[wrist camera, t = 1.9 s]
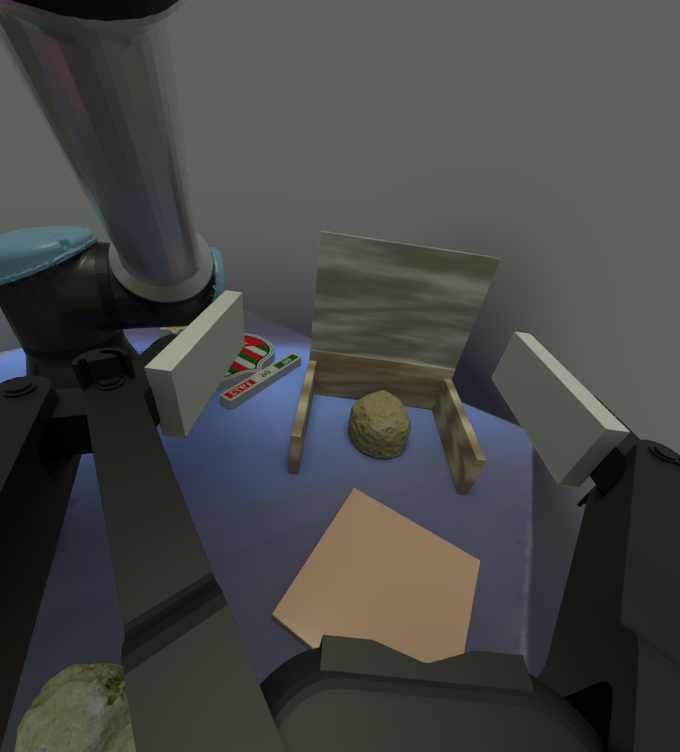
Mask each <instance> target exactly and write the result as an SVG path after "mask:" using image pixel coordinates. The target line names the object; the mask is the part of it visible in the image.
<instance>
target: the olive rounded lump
mask: <svg viewBox="0 0 680 752" xmlns="http://www.w3.org/2000/svg"><path fill="white" fill-rule="evenodd" d="M349 428H350V436H351V438H352V441H353V443H354V444H355V446H356V447H357V448H358V449H359V450H361V451H362V452H363V453H365V454H367V455H369V456H373V457H375V458H381V459H388V458H393V457H396V456H398V455H401V453H402V451H403V450H404V447H405V446H406V443H407V440H408V437H409V433H410V430H411V422H410V419H409V416H408V413H407V411H406V409H405V407H404V406H403V404H402V402H401V401H400V400H399V399H398V398H397V397H395V396H393V395H392V394H391V393H388V392H386V391H385V390H381V391H377V392H374V393H371V394H369V395H367V396H365V397H363V398H361V399H359V400H358V401H357V402H356V403H355V404H354V405H353V406H352V408H351V413H350V418H349Z"/></svg>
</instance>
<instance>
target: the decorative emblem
mask: <svg viewBox="0 0 680 752" xmlns="http://www.w3.org/2000/svg"><path fill="white" fill-rule="evenodd" d="M187 327H188V326H184V327H162V328H160V332H161V337H164V336H167V335H169V334H174V335H179V334H180V333H181V332H182V331H183V330H184V329H186V328H187ZM244 340H245V345H244V346H243V348H242V349H241V351H240V353H239V354H238V356H237V357H236V359H235V360H234V362H233V364H232V365H231V367H230V368H229V370H228V372H227V373H226V375H225V376H224V378H223V380H222V381H221V383H220V384H219V386H218V387H217V389H216V390H222V389H227V388H230V387H232V386H233V387H232V388H230V389H228V390H226V391H225V392H223V393H221V394H220V397H221V404H222V405H223V406H225V407H226V408H228V409H234V408H236V407H237V406H239V405H240V404H242V403H243V402H245V401H246V400H248V399H249V398H251V397H252V396H254V395H256V394H257V393H259V392H260V391H262V390H263V389H265V388H266V387H268V386H270V385H271V384H273V383H274V382H276V381H277V380H279V379H280V378H282V377H283V376H285V375H287V374H288V373H290V372H291V371H293V370H294V369H296V368H297V367H299V366H300V365H301V356H299V355H297V354H295V353H290V354H289V355H287V356H285V357H284V358H282V359H280V360H278V361H277V362H275V363H273V364H271V363H272V362H273V360H274V347H273V345H272V344H271V343H270V342H269V341H267V340H265V339H264V338H262V337H259V336H256V335H252V334H246V333H244ZM270 364H271V365H270ZM269 365H270V366H269Z"/></svg>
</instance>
